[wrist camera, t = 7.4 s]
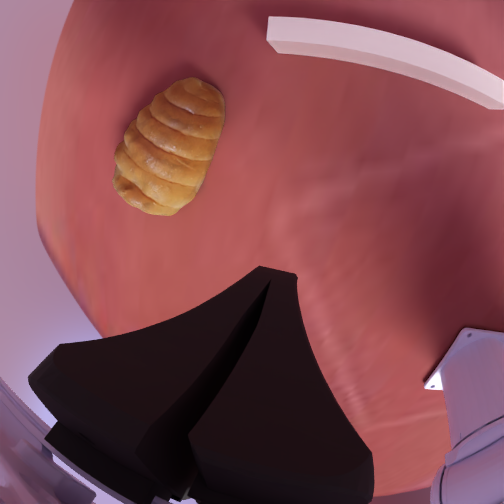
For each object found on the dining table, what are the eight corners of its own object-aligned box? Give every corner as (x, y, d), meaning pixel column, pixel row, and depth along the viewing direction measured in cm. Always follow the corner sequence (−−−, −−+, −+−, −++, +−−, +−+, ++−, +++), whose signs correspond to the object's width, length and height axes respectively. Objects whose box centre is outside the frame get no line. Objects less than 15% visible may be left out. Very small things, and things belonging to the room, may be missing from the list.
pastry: (178, 64, 15) (145, 56, 12) (256, 112, 16) (236, 110, 12) (124, 168, 20) (92, 181, 17) (186, 217, 21) (158, 238, 17)
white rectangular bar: (490, 88, 10) (513, 86, 7) (489, 109, 10) (512, 110, 8) (279, 32, 13) (268, 16, 10) (278, 53, 13) (266, 40, 11)
